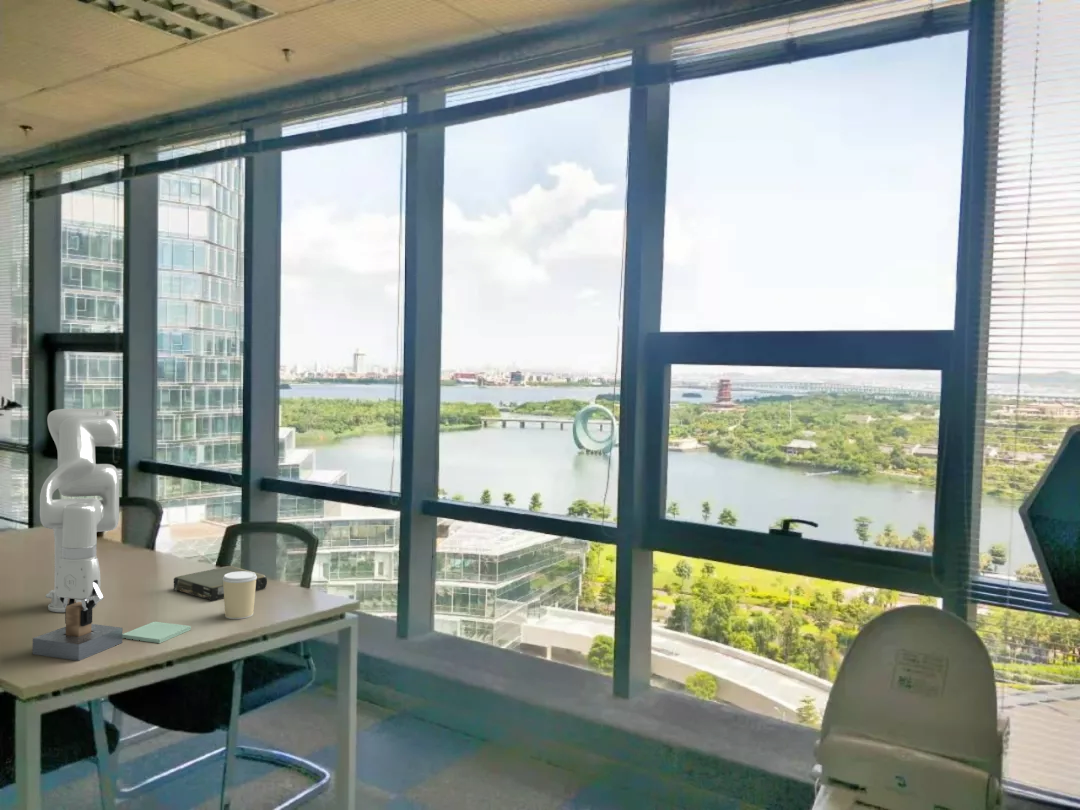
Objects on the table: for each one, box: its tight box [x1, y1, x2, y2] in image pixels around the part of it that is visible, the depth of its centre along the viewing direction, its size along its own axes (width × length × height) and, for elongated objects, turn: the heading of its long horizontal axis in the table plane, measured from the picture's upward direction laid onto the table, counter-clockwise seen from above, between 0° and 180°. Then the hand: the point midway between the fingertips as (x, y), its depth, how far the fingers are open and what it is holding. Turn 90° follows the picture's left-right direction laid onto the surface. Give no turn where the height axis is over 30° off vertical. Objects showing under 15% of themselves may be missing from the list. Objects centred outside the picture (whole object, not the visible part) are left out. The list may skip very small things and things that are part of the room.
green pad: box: [122, 621, 192, 644], centre depth 217 cm, size 12×12×1 cm
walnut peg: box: [65, 602, 92, 637], centre depth 204 cm, size 4×4×10 cm
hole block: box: [32, 623, 123, 662], centre depth 204 cm, size 14×14×4 cm
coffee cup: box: [223, 570, 257, 620], centre depth 235 cm, size 9×9×12 cm
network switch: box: [173, 565, 268, 602], centre depth 263 cm, size 23×23×5 cm
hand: (78, 622), depth 204 cm, fingers closed on walnut peg, 4 cm apart
